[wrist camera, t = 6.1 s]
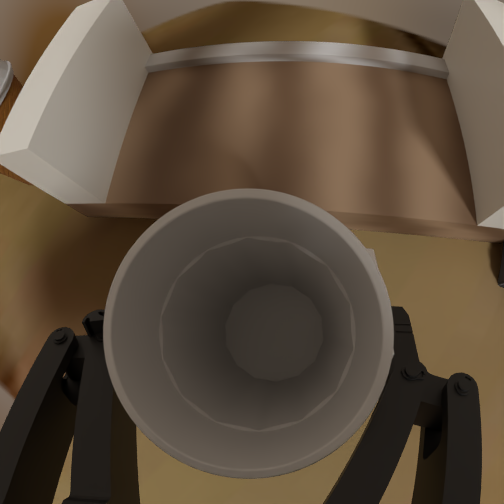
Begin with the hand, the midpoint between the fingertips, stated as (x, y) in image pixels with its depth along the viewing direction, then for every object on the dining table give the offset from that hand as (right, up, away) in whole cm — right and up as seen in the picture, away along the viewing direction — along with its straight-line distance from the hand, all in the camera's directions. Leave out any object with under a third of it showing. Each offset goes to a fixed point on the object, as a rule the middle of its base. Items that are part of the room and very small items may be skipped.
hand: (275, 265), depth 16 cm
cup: (0, -4, +3) cm, 6 cm away
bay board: (+2, +9, +6) cm, 11 cm away
